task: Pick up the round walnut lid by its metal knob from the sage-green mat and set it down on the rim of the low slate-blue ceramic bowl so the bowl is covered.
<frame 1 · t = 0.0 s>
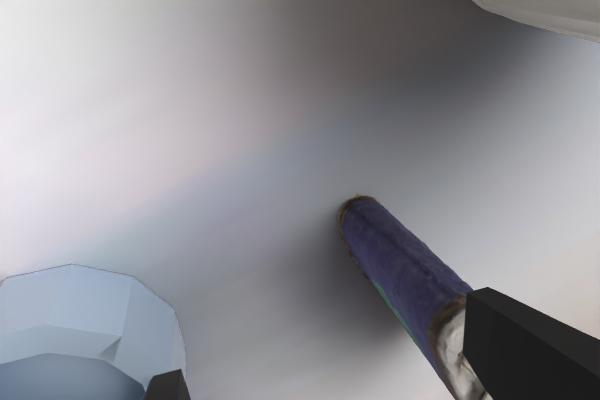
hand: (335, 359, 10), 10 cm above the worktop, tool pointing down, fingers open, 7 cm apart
bowl: (77, 354, 20), on the worktop
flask: (388, 258, 23), on the worktop
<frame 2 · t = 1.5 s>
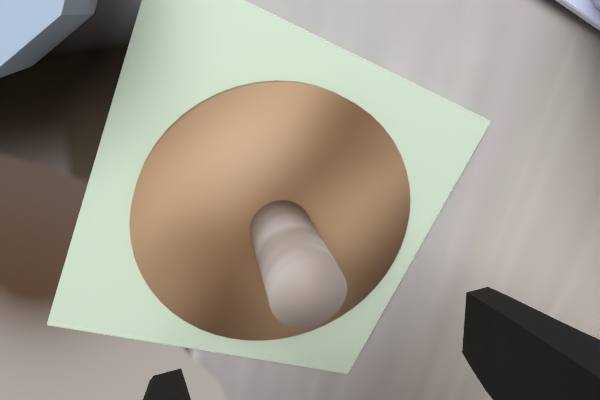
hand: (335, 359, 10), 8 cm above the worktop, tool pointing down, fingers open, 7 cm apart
mat: (275, 216, 18), on the worktop
lid: (276, 219, 17), resting on mat
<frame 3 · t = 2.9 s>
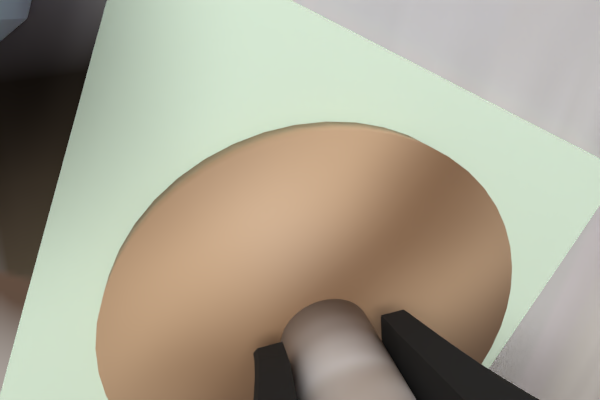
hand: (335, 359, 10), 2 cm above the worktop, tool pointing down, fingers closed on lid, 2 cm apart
mat: (314, 310, 12), on the worktop
lid: (317, 317, 12), resting on mat, touching gripper
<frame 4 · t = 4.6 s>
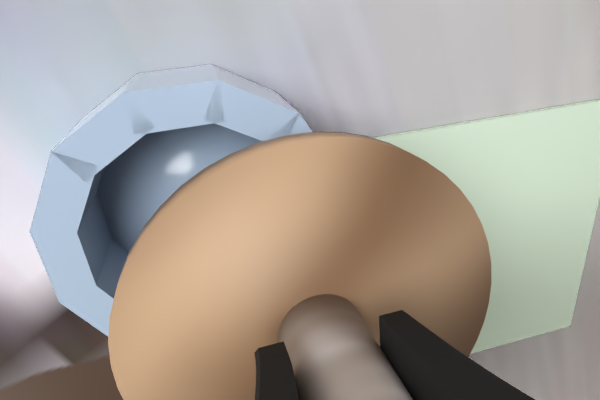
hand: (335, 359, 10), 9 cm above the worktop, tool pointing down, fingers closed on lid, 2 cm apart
bowl: (200, 190, 17), on the worktop
mat: (474, 250, 22), on the worktop
lid: (312, 313, 13), point 7 cm above the worktop, touching gripper
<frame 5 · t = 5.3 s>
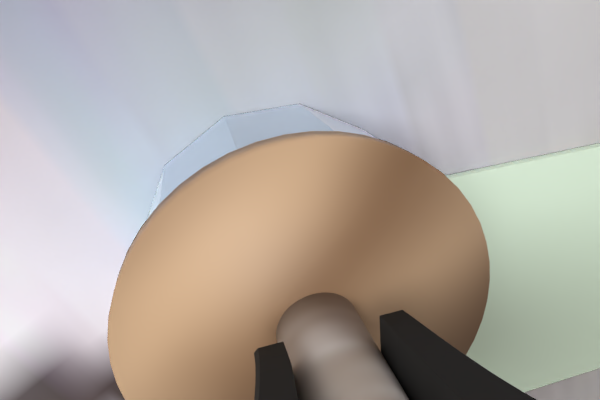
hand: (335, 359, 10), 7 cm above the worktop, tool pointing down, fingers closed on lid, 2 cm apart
bowl: (280, 234, 16), on the worktop
mat: (551, 282, 21), on the worktop
lid: (310, 311, 13), point 4 cm above the worktop, touching gripper
when the fingers open (7 cm above the worktop, at t = 5.9 s): lid stays where it is, resting on bowl.
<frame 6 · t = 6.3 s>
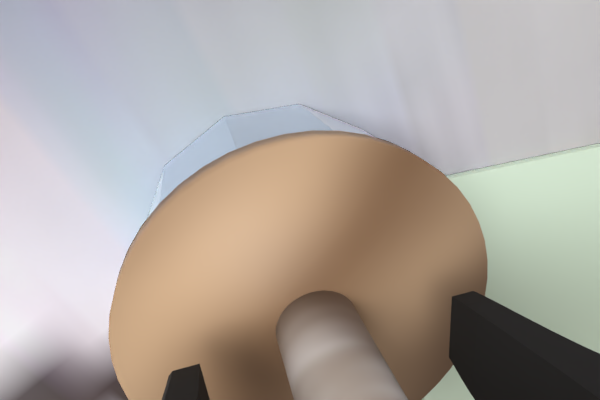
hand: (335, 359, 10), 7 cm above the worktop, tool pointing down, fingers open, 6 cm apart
bowl: (280, 234, 16), on the worktop
mat: (551, 282, 21), on the worktop
lid: (309, 308, 13), point 4 cm above the worktop, touching bowl
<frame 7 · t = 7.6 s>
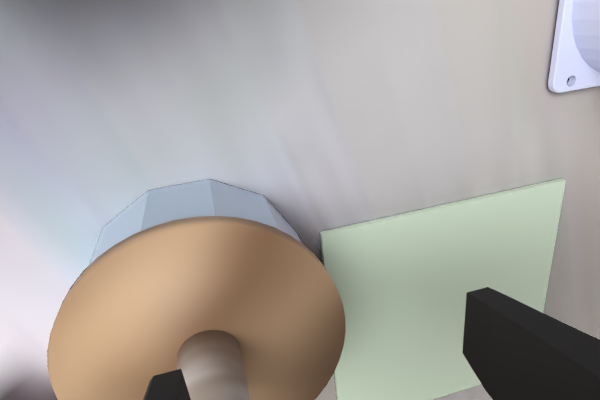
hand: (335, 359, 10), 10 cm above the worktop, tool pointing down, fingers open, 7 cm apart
bowl: (201, 276, 20), on the worktop
mat: (442, 309, 25), on the worktop
lid: (208, 341, 17), point 4 cm above the worktop, touching bowl
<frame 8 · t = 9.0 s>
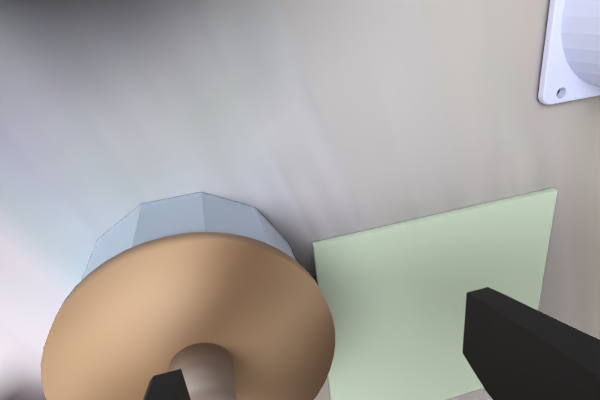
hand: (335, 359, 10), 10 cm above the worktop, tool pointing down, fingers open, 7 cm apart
bowl: (195, 287, 21), on the worktop
mat: (435, 317, 25), on the worktop
lid: (200, 352, 17), point 4 cm above the worktop, touching bowl
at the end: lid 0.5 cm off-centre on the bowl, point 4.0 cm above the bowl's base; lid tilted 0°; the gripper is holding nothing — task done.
